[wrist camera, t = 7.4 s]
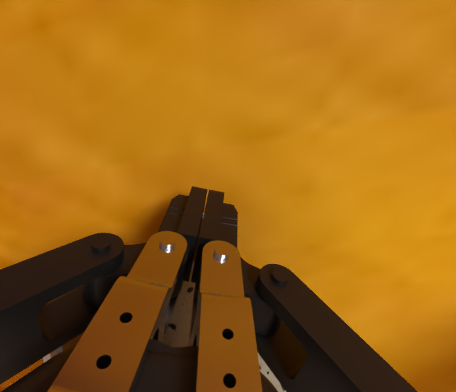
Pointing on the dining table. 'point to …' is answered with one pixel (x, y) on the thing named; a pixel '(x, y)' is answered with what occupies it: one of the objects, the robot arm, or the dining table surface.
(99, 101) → the dining table surface
